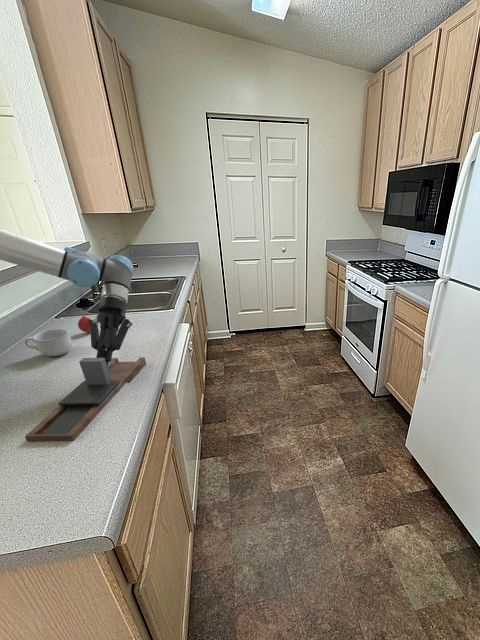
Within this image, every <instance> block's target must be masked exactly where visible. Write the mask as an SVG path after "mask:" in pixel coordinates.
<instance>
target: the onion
mask: <svg viewBox="0 0 480 640" xmlns="http://www.w3.org/2000/svg"><path fill="white" fill-rule="evenodd" d="M90 319H91V318H89V317H87V316H86V314H84V315H82V317H80V318H79V320H78V321H77V327H78V329H79V330H80V331H81V332H84V333H88V334H91V332H90V325H89V323H88V320H90Z"/></svg>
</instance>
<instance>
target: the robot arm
mask: <svg viewBox="0 0 480 640" xmlns="http://www.w3.org/2000/svg"><path fill="white" fill-rule="evenodd" d="M0 261H3V262H7V263H10V264H14V265H16V266H20V267H22V268H23V267H24V268H27V269H30V270H33V271H36V272H40V273H43V274H47V275H51V276H53V277H56V278H60V279H63V280H65V281H69V282H71V283H73V284H74V285H75V286H77V287H79V288H90V287H92V286H95V285H96V284H98V282H101V283H103V285H102V290H101V294H100V300H99V305H98V313H97V314H96V317H95V318H94V319H91V318H89V319H90V320H88V323H89V325H90V342H91V343H90V347H91V348H92V349H94V350H95V351H96V357H95V358H105V361H106V364H107V367H108V362H110V361H111V359H112V358H113V353H114V352H115V351H120V349H121V347H122V345H123V343H124V341H125V338H126V335H127V333H128V331H129V329H130V328H131V327H132V326H133V322H132V321H130V319H128V318H127V317H126V313H127V307H128V300H129V295H130V289H131V283H132V278H133V271H134V270H133V269H134V264H133V262H132V260H131V259H129V258H128V257H126V256H124V255H117V254H111V255H110V256H109V257H108V258H104V257H100V256H98V255H95V254H93V253H90V252H86V251H84V250H80V249H79V248H73V247H70V246H66V247H64V248H63V249H61V248H59V247H56V246H53V245H50V244H47V243H45V242H41V241H39V240H35V239H32V238H30V237H27V236H24V235H21V234H18V233H15V232H12V231H10V230H6V229H4V228H0ZM99 329H100V330H99Z"/></svg>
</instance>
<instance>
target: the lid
mask: <svg viewBox="0 0 480 640" xmlns="http://www.w3.org/2000/svg"><path fill="white" fill-rule="evenodd" d="M78 363H79V366H80V368H81V371H82V374H83V378H84V380H83V381H82V382H81V383H80V384H78V385H77V386H76V387H75V388H74V389H73V390H72V391H70V392H69V393H68V394H67V395H66V396H65V397H64V398H63V399H61V401H59V402H58V403H57V404H58V406H59V405H72V406H94V405H99V404H100V403H101V401H102V400H103V399H104V398H105V397H106V396H107V395H108V394H109V393H110V392H111V391H112V390H113V389H114V388H115V387H116V386H117V384H118V383H119V382H120V381H119V380H118V381H111V377H110V374H109V370H108V367H107V364H106V361H105V358H96V357H83V358H82V359H81V360H79V361H78Z"/></svg>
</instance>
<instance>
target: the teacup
mask: <svg viewBox="0 0 480 640" xmlns="http://www.w3.org/2000/svg"><path fill="white" fill-rule="evenodd" d="M69 333H70V332H69V330H68V329H66V328H51V329H45V330H43V331H41V332H40V331H39V332H38V333H36V334H35V335H34V336H27V337H26V338H25V339H24V344H25V346H26V347H28V348H30V349H32V350H36V351H38V352H39V353H40V354H42V355H44V356H47V357H51V358H53V357H55V358H56V357H60V356H63V355H66V354H67V353H68V352H69V351H70V350H71V348H72V346H73V343H72V339H71V336H70V334H69ZM30 340H31V341H32V342H34V344H35V345H33V344H31V343H29V341H30Z"/></svg>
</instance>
